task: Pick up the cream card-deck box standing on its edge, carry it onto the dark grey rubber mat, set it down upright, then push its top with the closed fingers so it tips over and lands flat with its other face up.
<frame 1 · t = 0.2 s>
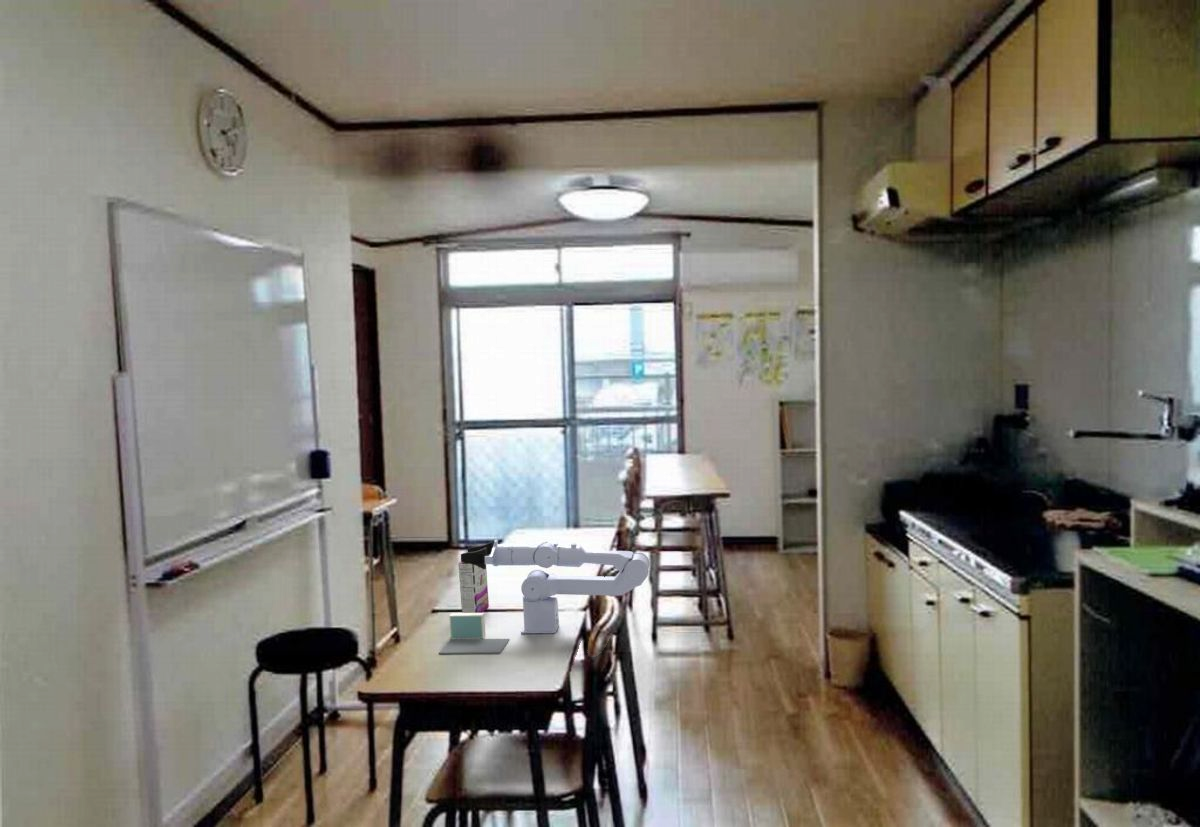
hand: (464, 554, 243), 21 cm above the table, tool horizontal, fingers open, 7 cm apart
mat: (474, 647, 229), on the table
deck: (468, 637, 238), on the table
candy bar box: (475, 613, 262), on the table
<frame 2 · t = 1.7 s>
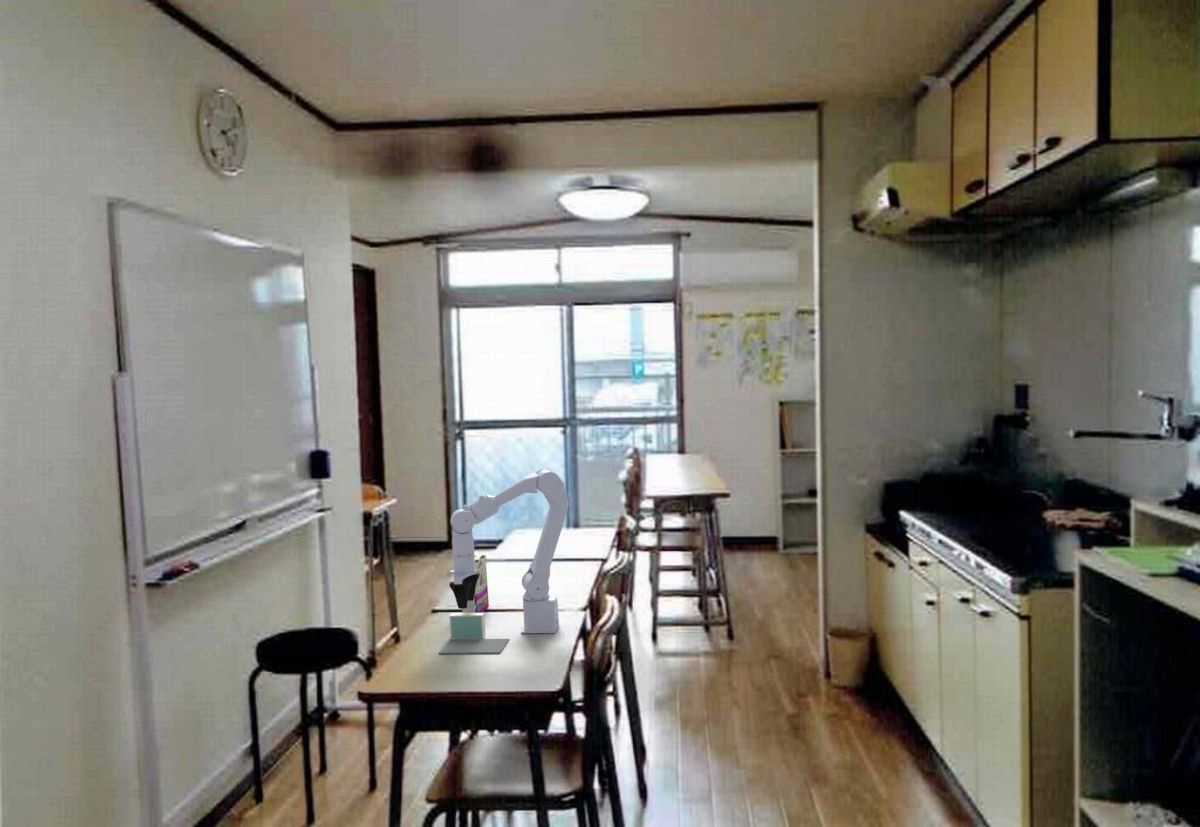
hand: (466, 604, 238), 9 cm above the table, tool pointing down, fingers open, 7 cm apart
nothing on the table moved.
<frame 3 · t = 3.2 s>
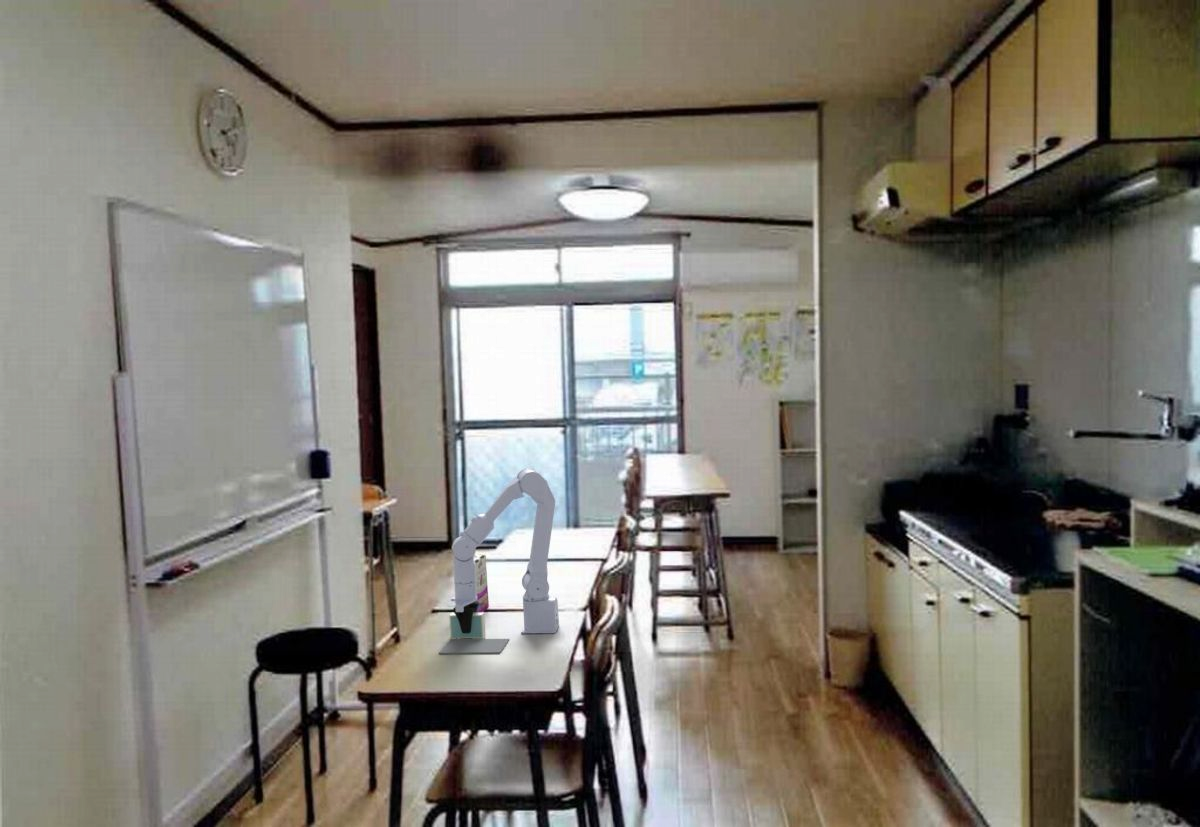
hand: (467, 631, 238), 2 cm above the table, tool pointing down, fingers closed on deck, 2 cm apart
deck: (468, 637, 238), on the table, touching gripper
everything else where it was.
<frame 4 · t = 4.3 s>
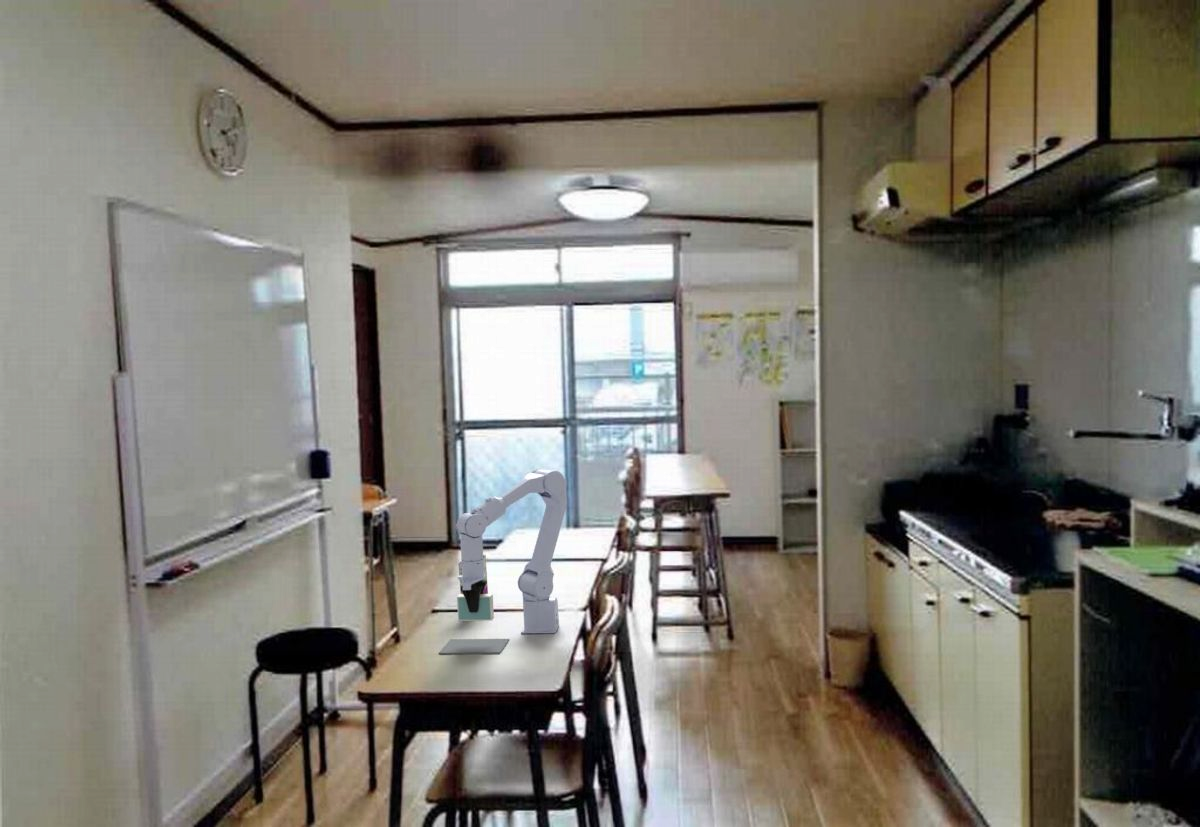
hand: (475, 610, 231), 9 cm above the table, tool pointing down, fingers closed on deck, 2 cm apart
deck: (476, 619, 232), point 7 cm above the table, touching gripper
everything else where it was.
when the fingers open (3 cm above the table, at t = 5.8 s): deck stays where it is, resting on mat.
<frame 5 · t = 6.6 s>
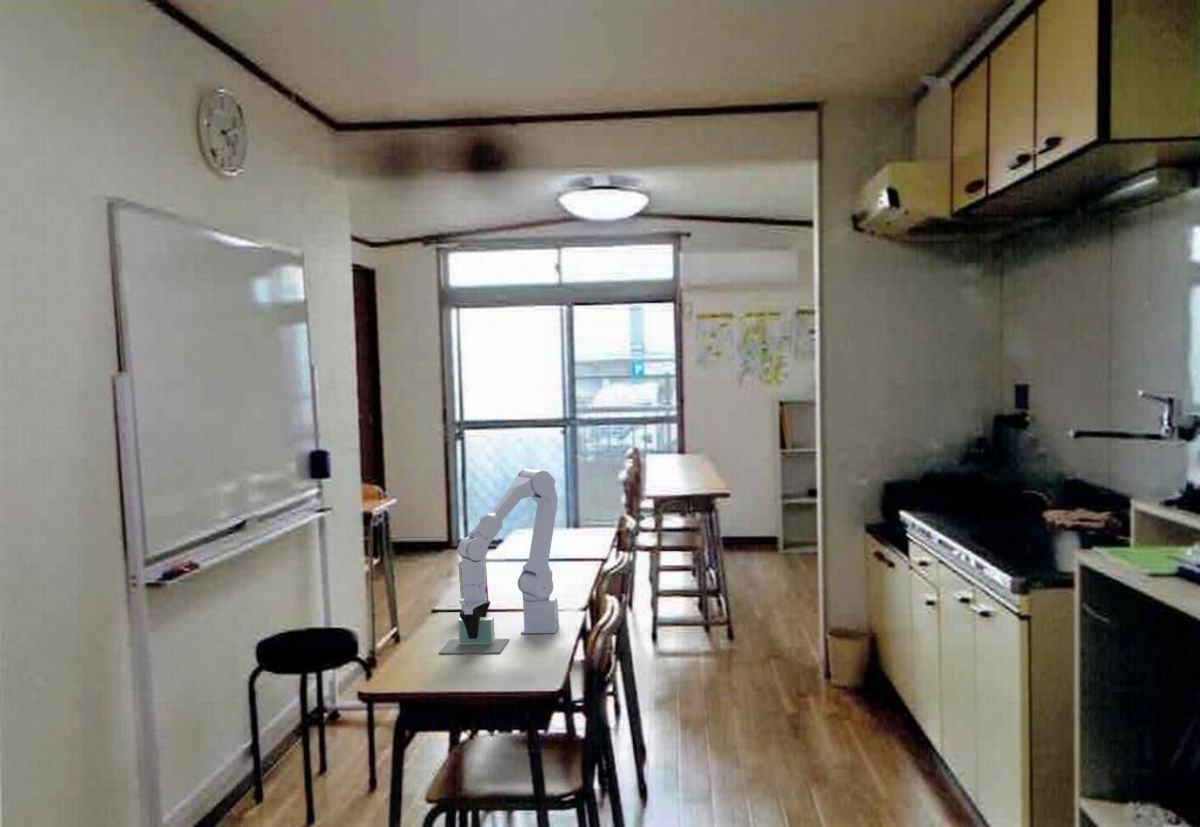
hand: (476, 633, 232), 3 cm above the table, tool pointing down, fingers open, 7 cm apart
deck: (477, 642, 232), resting on mat
everything else where it was.
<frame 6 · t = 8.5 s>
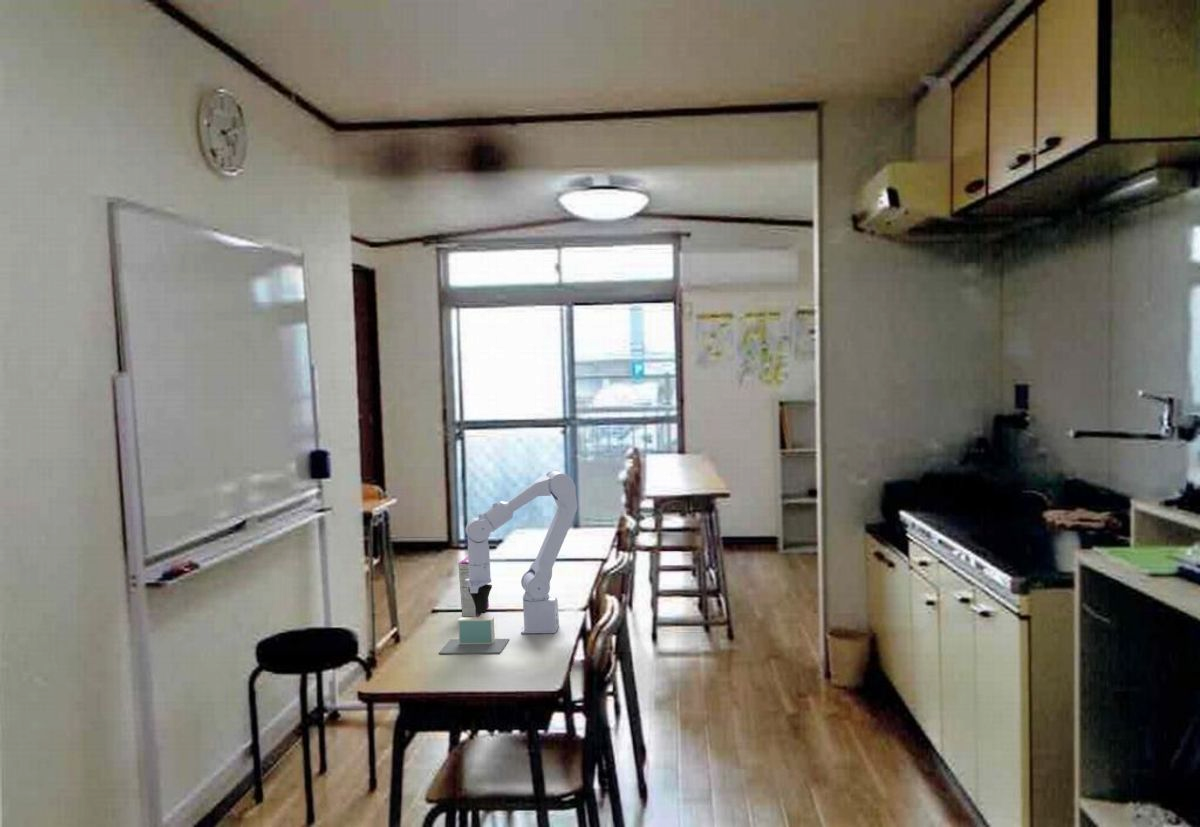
hand: (481, 613, 238), 6 cm above the table, tool pointing down, fingers closed
nothing on the table moved.
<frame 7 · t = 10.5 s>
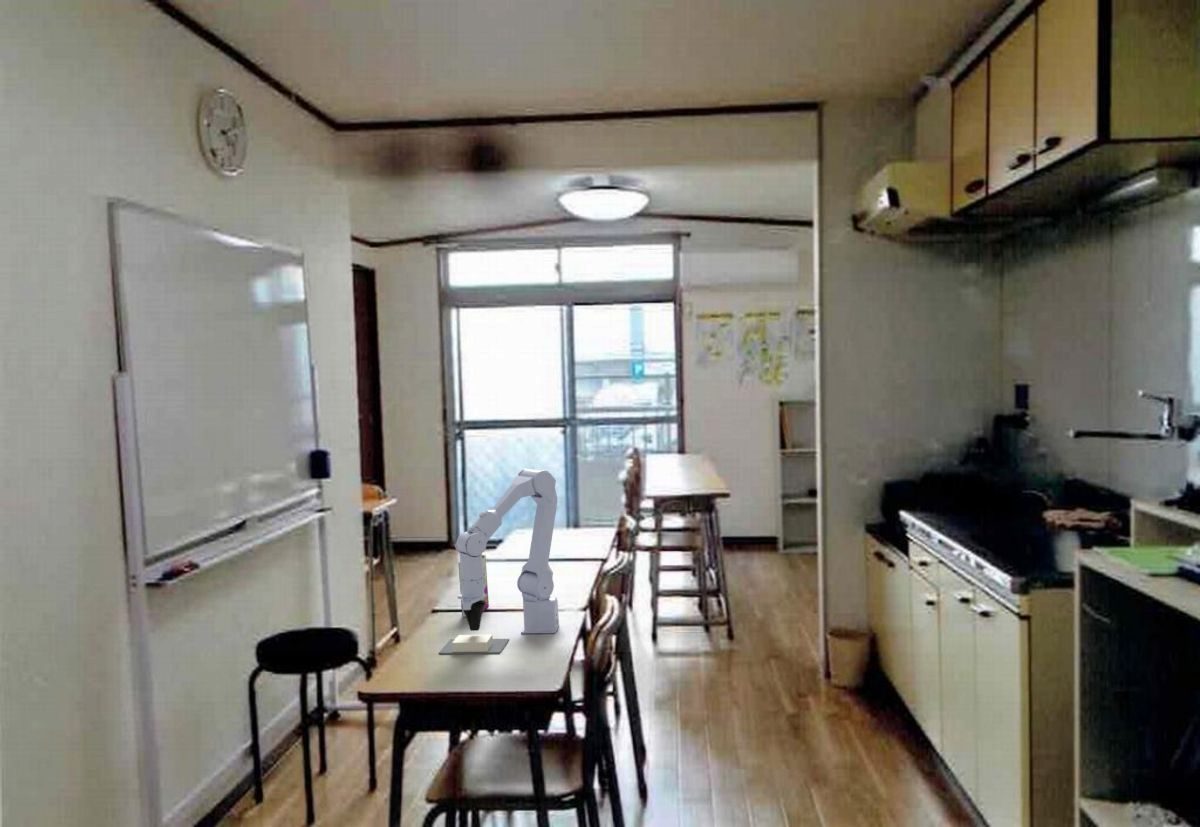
hand: (474, 629, 230), 4 cm above the table, tool pointing down, fingers closed
deck: (475, 639, 230), point 2 cm above the table, tilted 90°, touching mat
everything else where it was.
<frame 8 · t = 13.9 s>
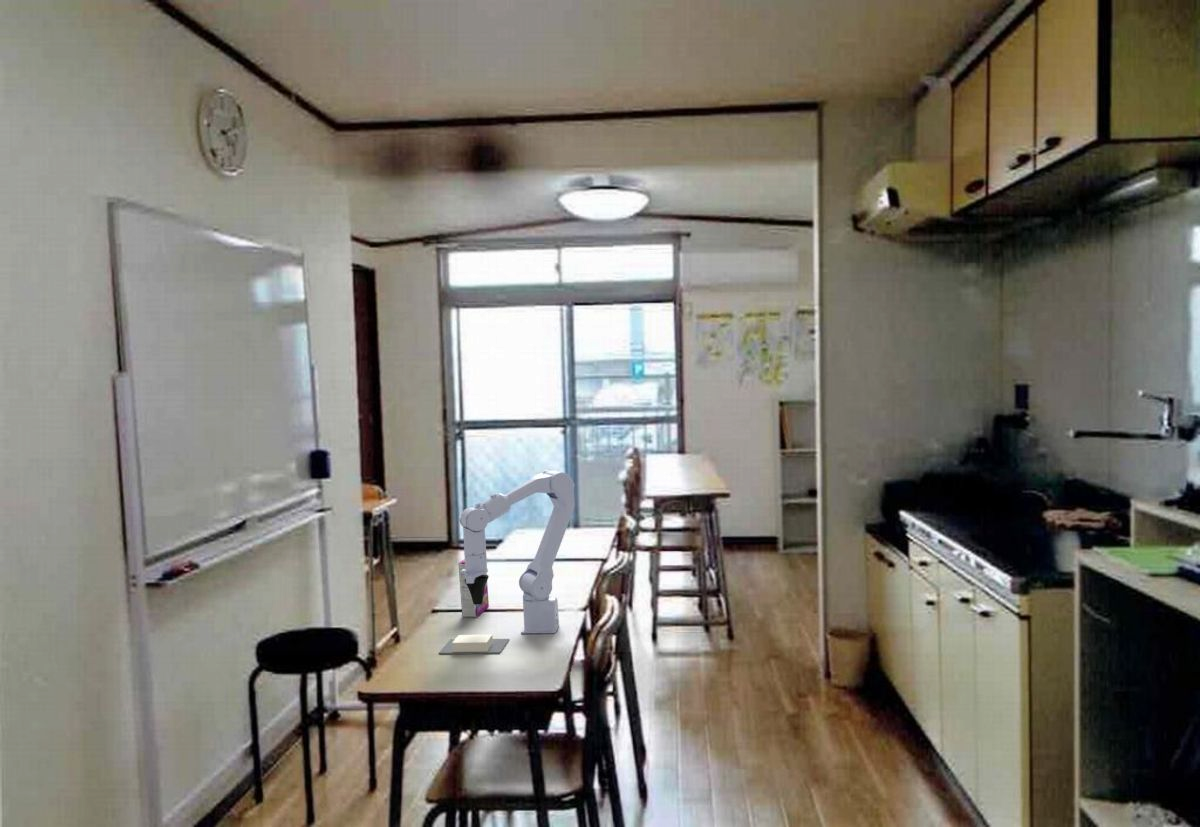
hand: (477, 603, 234), 10 cm above the table, tool pointing down, fingers closed
nothing on the table moved.
at the end: deck tilted 90°; deck inside the target area (2.8 cm from its centre), point 1.6 cm above the table; the gripper is holding nothing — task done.
